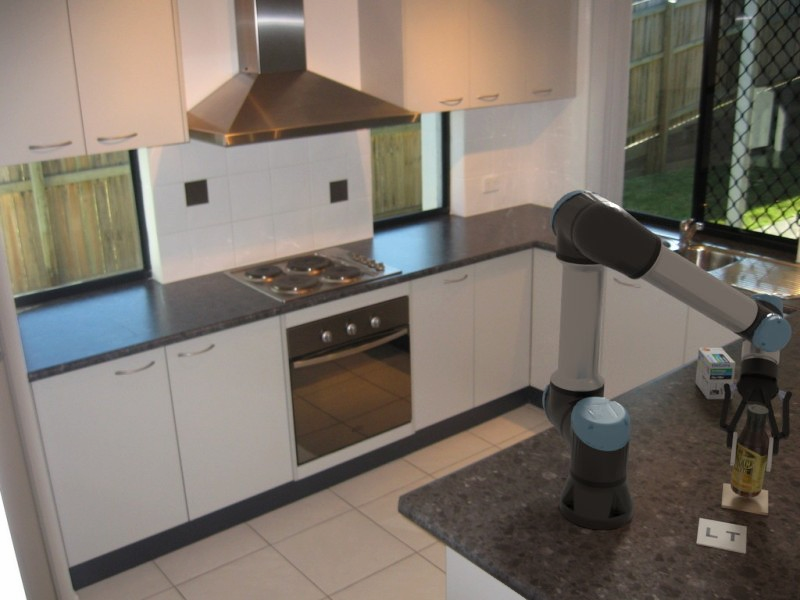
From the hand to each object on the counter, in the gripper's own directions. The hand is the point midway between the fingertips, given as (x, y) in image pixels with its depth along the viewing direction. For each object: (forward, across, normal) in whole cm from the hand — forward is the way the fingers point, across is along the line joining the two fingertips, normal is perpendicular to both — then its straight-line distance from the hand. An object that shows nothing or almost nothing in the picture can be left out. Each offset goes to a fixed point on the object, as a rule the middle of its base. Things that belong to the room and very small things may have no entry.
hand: (750, 466), depth 174 cm
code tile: (+15, +4, +1) cm, 16 cm away
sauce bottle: (+3, 0, -8) cm, 9 cm away
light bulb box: (-32, +9, -47) cm, 58 cm away
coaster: (+5, 0, -10) cm, 11 cm away
